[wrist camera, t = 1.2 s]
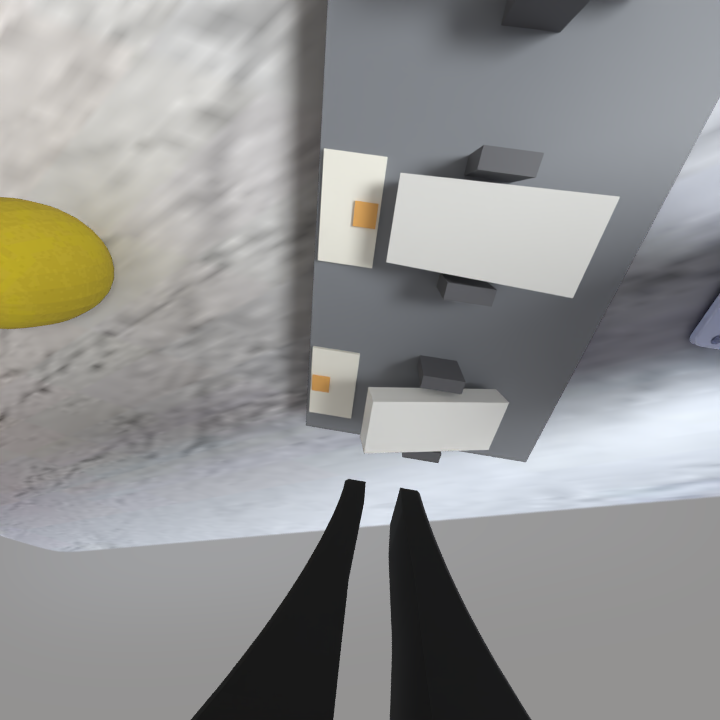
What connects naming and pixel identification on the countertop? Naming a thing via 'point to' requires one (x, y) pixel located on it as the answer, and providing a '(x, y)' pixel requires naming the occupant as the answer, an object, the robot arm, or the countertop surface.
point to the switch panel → (495, 165)
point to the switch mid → (498, 231)
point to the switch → (430, 419)
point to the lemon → (48, 265)
